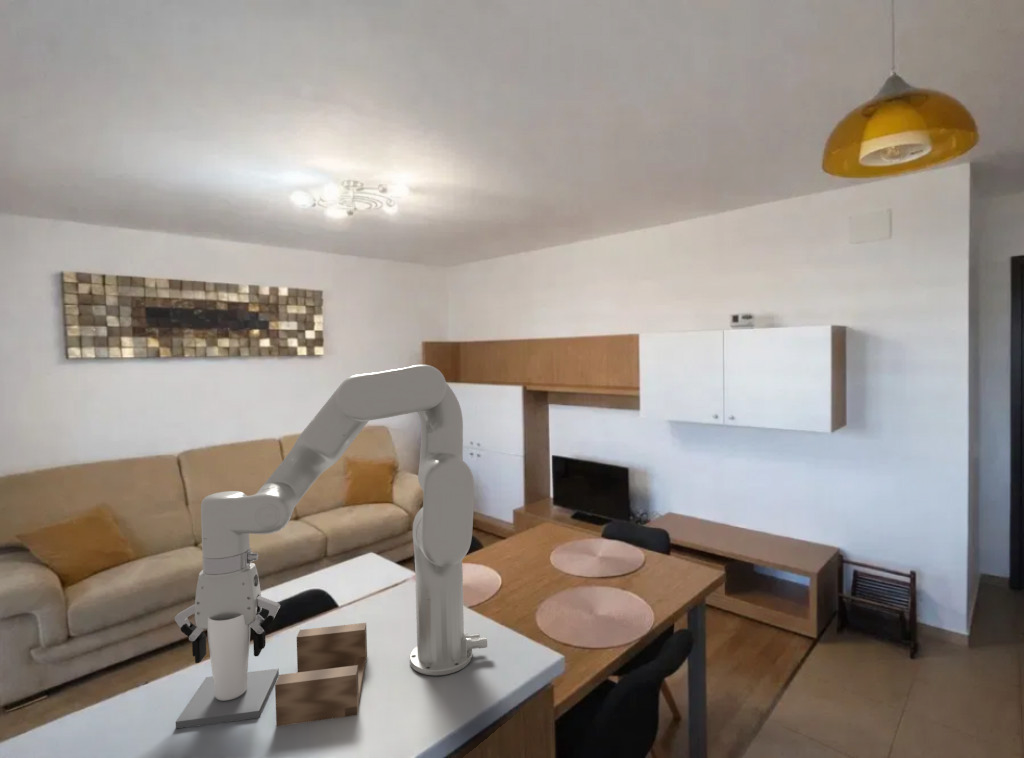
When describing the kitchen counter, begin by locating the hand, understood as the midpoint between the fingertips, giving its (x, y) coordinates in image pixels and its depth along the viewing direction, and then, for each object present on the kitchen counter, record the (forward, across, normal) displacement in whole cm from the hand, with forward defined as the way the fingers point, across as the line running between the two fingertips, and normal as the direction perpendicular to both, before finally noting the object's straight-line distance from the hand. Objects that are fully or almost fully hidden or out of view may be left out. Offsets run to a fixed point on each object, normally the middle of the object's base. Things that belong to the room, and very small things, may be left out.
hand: (229, 655), depth 95 cm
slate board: (+8, 0, 0) cm, 8 cm away
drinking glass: (+7, 0, 0) cm, 7 cm away
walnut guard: (+8, -16, 0) cm, 18 cm away
